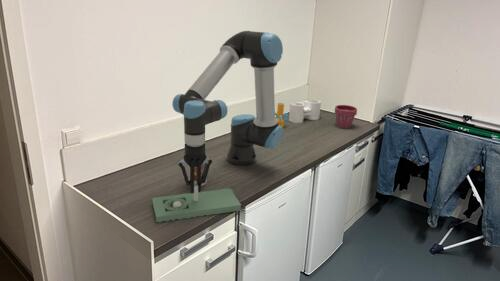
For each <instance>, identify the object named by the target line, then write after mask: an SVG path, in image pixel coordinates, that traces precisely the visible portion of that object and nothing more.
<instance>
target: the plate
mask: <svg viewBox="0 0 500 281" xmlns="http://www.w3.org/2000/svg"><path fill="white" fill-rule="evenodd" d="M151 201H152V206H153V211H154V216H155V220H156V223H157V222H159V223H163V222H162V221H166V222H170V221H169V220H172V221H176V220H175V219H179V220H184V219H183V218H186V219H191V217H193V218H198V217H197V216H199V217H205V216H204V215H206V216H211V215H212V214H213V215H219V214H225V213H226V214H227V213H232V212H239V211H240V212H241V210H242V204H241V203H240V201H239V199H238V198H237V197H236V195H235V192H234V191H233V190H232V188H230V187H229V188H222V189H214V190H213V189H211V190H206V191H200V192H198V201H194V199H193V193H191V192H189V193H183V194H181V193H180V194H175V195H166V196H158V197H152V200H151ZM175 201H180V202H181V203H182V205H181V206H180V207H176V208H175V207H173V203H174V202H175Z"/></svg>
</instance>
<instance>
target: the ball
mask: <svg viewBox="0 0 500 281" xmlns="http://www.w3.org/2000/svg"><path fill="white" fill-rule="evenodd" d="M181 205H182V203H181V202H180V201H175V202H174V203H173V207H175V208H176V207H180V206H181Z"/></svg>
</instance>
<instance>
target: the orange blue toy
mask: <svg viewBox="0 0 500 281" xmlns="http://www.w3.org/2000/svg"><path fill="white" fill-rule="evenodd" d="M284 108H285V104H284V103H282V102H279V103H277V108H276V110H277V112H276V111H275V117H276V118H277V119H278V126H281V127H282V128H284V127H285V122H287V121H289V114H288V113H287V112H284V110H285V109H284Z"/></svg>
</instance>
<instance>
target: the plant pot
mask: <svg viewBox="0 0 500 281" xmlns="http://www.w3.org/2000/svg"><path fill="white" fill-rule="evenodd" d="M334 113H335V118H336V119H335V120H336V122H335V123H336V126H337V127H338V128H340V127H341V128H342V129H350V128H351V126H352V124H353V121H354V119H355V116H356V115H357V114H358V108H357V107H355V106H353V105H349V104H348V105H347V104H337V105H335V106H334Z"/></svg>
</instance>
